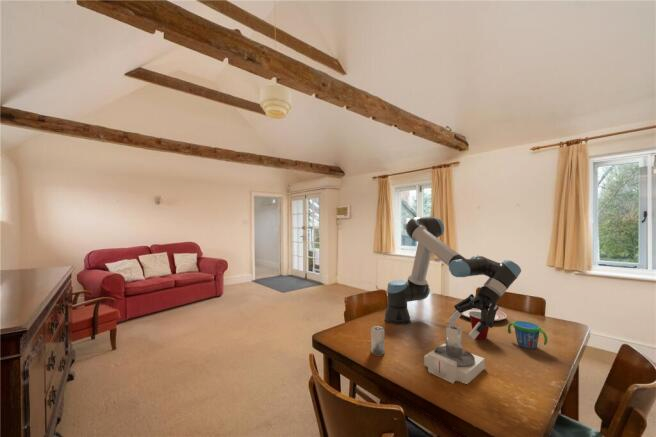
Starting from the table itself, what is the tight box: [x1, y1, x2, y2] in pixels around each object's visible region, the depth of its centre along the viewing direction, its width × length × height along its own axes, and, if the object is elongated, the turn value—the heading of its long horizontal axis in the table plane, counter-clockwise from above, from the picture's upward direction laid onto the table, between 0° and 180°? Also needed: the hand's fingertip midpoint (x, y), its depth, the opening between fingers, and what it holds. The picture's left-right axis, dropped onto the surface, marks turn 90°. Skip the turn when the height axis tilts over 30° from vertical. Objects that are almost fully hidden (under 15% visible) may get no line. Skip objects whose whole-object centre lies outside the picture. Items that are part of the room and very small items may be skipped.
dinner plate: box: [461, 308, 508, 322], centre depth 165 cm, size 27×27×3 cm
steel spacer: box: [370, 325, 385, 356], centre depth 120 cm, size 6×6×11 cm
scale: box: [423, 343, 486, 385], centre depth 107 cm, size 17×21×7 cm
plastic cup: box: [469, 311, 490, 341], centre depth 135 cm, size 11×11×12 cm
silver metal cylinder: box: [445, 324, 463, 358], centre depth 108 cm, size 6×6×11 cm
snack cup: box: [507, 320, 548, 350], centre depth 126 cm, size 16×10×10 cm
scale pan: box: [434, 345, 475, 367], centre depth 108 cm, size 15×15×1 cm
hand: (459, 329), depth 108 cm, fingers open, 13 cm apart
